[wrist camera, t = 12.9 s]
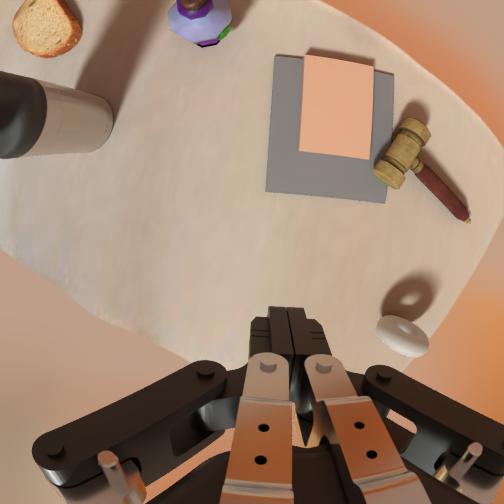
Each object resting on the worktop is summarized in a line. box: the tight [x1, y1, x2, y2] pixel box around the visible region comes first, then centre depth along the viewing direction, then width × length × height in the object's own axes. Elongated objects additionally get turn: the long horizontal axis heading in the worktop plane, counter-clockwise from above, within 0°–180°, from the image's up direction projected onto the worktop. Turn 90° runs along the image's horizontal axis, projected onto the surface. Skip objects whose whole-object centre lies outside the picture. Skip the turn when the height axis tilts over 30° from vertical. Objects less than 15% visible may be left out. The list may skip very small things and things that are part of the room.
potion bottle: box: [168, 0, 232, 48], centre depth 31 cm, size 9×9×12 cm
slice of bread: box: [13, 0, 82, 58], centre depth 33 cm, size 18×18×4 cm
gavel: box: [373, 117, 471, 224], centre depth 41 cm, size 21×5×10 cm
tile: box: [298, 55, 374, 160], centre depth 39 cm, size 10×2×14 cm
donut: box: [376, 315, 429, 357], centre depth 46 cm, size 10×4×10 cm, turn 70°
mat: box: [266, 56, 394, 204], centre depth 41 cm, size 18×20×1 cm
